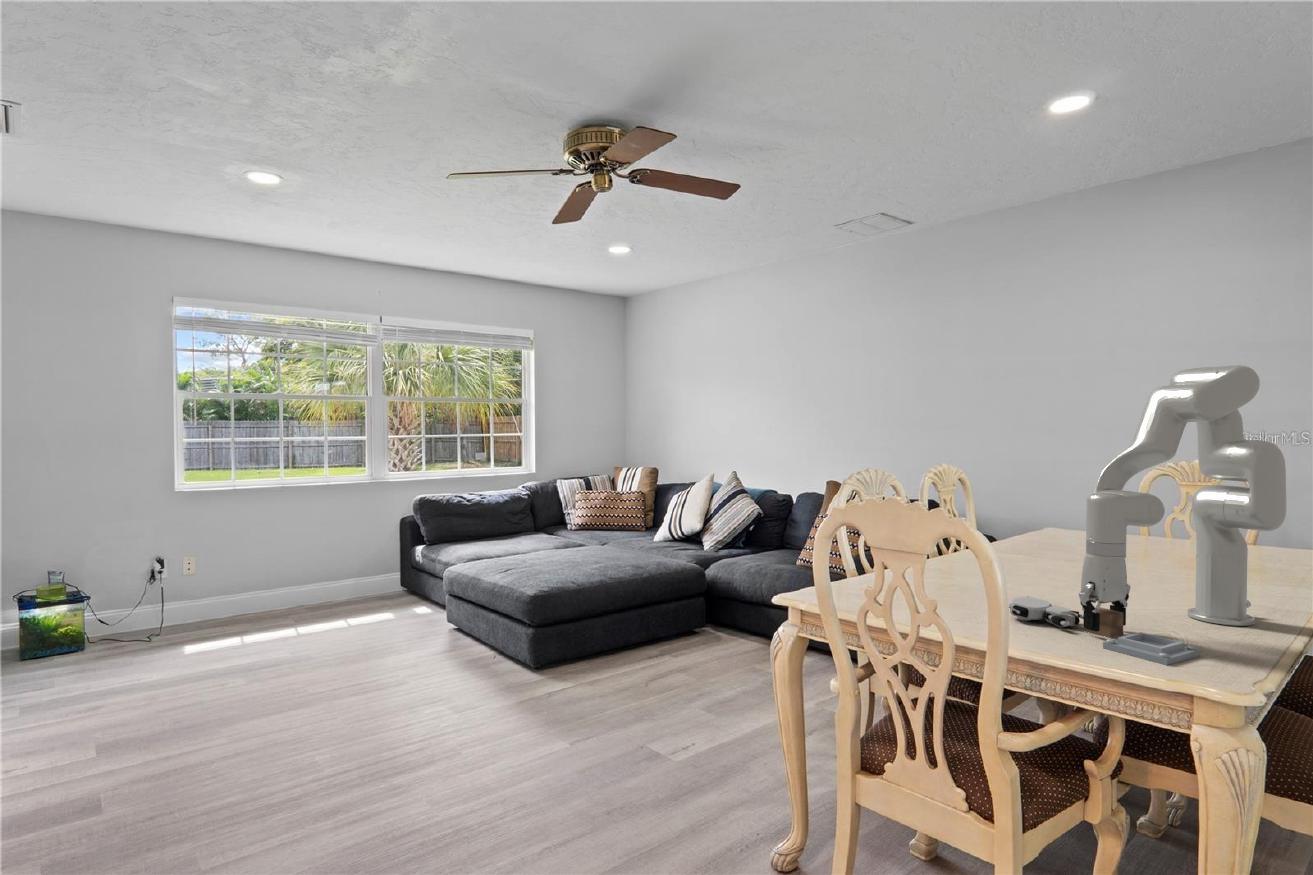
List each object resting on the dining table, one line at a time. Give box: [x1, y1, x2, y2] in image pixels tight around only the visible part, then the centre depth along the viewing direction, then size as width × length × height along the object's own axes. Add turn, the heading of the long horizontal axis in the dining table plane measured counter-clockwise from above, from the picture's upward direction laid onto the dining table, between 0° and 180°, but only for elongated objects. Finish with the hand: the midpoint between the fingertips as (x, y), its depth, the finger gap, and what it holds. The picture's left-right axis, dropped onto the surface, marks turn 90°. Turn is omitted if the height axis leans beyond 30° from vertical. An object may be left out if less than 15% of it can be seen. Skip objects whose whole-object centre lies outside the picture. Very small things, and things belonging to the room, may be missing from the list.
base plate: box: [1102, 631, 1201, 666], centre depth 146 cm, size 12×12×2 cm
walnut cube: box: [1086, 606, 1124, 639], centre depth 159 cm, size 5×5×5 cm
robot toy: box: [1008, 595, 1084, 628], centre depth 168 cm, size 12×4×15 cm
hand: (1104, 627), depth 159 cm, fingers open, 9 cm apart
